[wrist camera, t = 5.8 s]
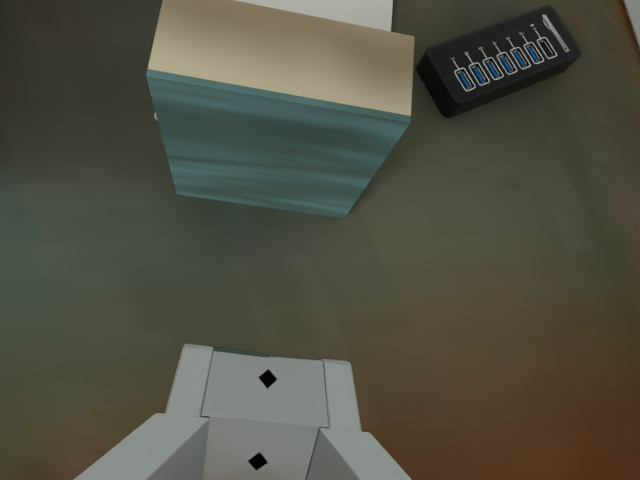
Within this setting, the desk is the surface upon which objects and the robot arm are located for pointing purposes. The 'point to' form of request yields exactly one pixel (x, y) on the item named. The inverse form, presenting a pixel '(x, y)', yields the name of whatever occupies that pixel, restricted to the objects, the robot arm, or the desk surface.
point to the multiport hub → (497, 60)
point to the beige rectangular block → (276, 103)
